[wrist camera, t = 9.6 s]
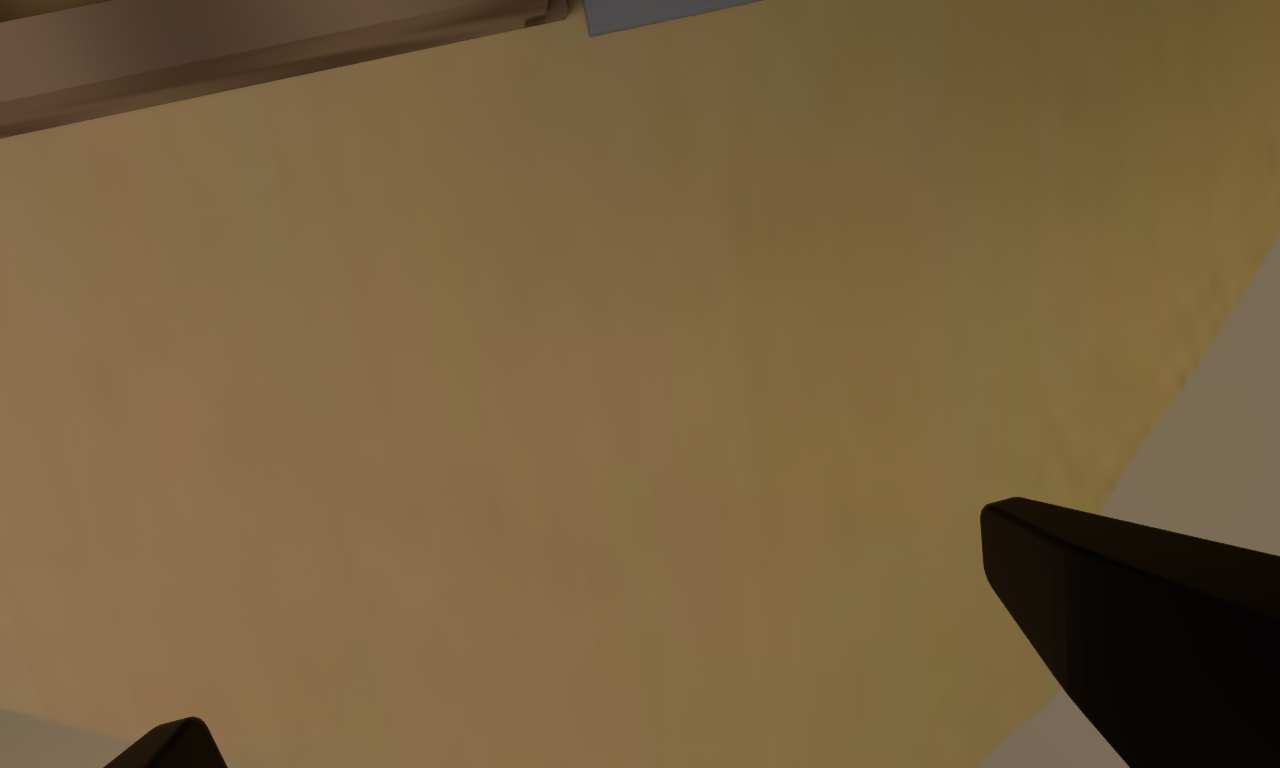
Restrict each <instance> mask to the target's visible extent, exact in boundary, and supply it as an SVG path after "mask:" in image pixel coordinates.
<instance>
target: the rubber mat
mask: <svg viewBox="0 0 1280 768" xmlns="http://www.w3.org/2000/svg"><path fill="white" fill-rule="evenodd" d="M757 1H762V0H582V3H583V7H584V12H585V17H586V22H587V26H588V31H589V36H590V37H593V36H598V35H602V34H607V33H612V32H617V31H621V30H626V29H631V28H635V27H640V26H645V25H649V24H654V23H659V22H663V21H668V20H673V19H678V18H682V17H687V16H692V15H696V14H701V13H706V12H710V11H715V10H720V9H725V8H729V7H734V6H739V5H743V4H748V3H753V2H757Z"/></svg>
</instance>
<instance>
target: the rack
mask: <svg viewBox="0 0 1280 768" xmlns="http://www.w3.org/2000/svg"><path fill="white" fill-rule="evenodd" d="M567 12H568V6H567V1H566V0H111V1H106V2H101V3H96V4H91V5H86V6H81V7H76V8H71V9H66V10H61V11H56V12H51V13H46V14H41V15H36V16H31V17H26V18H21V19H16V20H11V21H6V22H1V23H0V138H5V137H10V136H14V135H19V134H24V133H28V132H33V131H38V130H43V129H47V128H52V127H57V126H62V125H66V124H71V123H76V122H81V121H85V120H90V119H95V118H100V117H104V116H109V115H114V114H119V113H123V112H128V111H133V110H138V109H142V108H147V107H152V106H157V105H161V104H166V103H171V102H176V101H180V100H185V99H190V98H194V97H199V96H204V95H209V94H213V93H218V92H223V91H228V90H232V89H237V88H242V87H247V86H251V85H256V84H261V83H266V82H270V81H275V80H280V79H285V78H289V77H294V76H299V75H304V74H308V73H313V72H318V71H323V70H327V69H332V68H337V67H342V66H346V65H351V64H356V63H360V62H365V61H370V60H375V59H379V58H384V57H389V56H394V55H398V54H403V53H408V52H413V51H417V50H422V49H427V48H432V47H436V46H441V45H446V44H451V43H455V42H460V41H465V40H470V39H474V38H479V37H484V36H489V35H493V34H498V33H503V32H508V31H512V30H517V29H522V28H527V27H531V26H536V25H541V24H545V23H550V22H555V21H560V20H564V19H565V18H566V15H567Z"/></svg>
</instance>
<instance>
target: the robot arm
mask: <svg viewBox="0 0 1280 768" xmlns="http://www.w3.org/2000/svg"><path fill="white" fill-rule="evenodd" d="M980 523H981V538H982V552H983V565H984V570H985V574H986V577H987V579H988V581H989V583H990V585H991V587H992V589H993V590H994V591H995V593H996V594H997V596H998V597H999V599H1000V600H1001V601H1002V603H1003V604H1004V606H1005V607H1006V609H1007V610H1008V611H1009V613H1010V614H1011V616H1012V617H1013V619H1014V620H1015V621H1016V623H1017V624H1018V626H1019V627H1020V629H1021V630H1022V631H1023V633H1024V634H1025V636H1026V637H1027V639H1028V640H1029V641H1030V643H1031V644H1032V646H1033V647H1034V649H1035V650H1036V651H1037V653H1038V654H1039V656H1040V657H1041V658H1042V660H1043V661H1044V663H1045V664H1046V666H1047V667H1048V668H1049V670H1050V671H1051V673H1052V674H1053V676H1054V677H1055V678H1056V680H1057V681H1058V682H1059V684H1060V685H1061V686H1062V688H1063V689H1064V690H1065V692H1066V693H1067V694H1068V696H1069V697H1070V698H1071V699H1072V701H1073V702H1074V703H1075V704H1076V705H1077V707H1078V708H1079V709H1080V710H1081V711H1082V713H1083V714H1084V715H1085V716H1086V717H1087V718H1088V720H1089V721H1090V722H1091V723H1092V724H1093V725H1094V727H1095V728H1096V729H1097V730H1098V731H1099V732H1100V733H1101V735H1102V736H1103V737H1104V738H1105V739H1106V740H1107V741H1108V743H1109V744H1110V745H1111V746H1112V747H1113V749H1114V750H1115V751H1116V752H1117V753H1118V754H1119V755H1120V757H1121V758H1122V759H1123V760H1124V761H1125V762H1126V763H1127V765H1128V766H1129V767H1130V768H1280V556H1276V555H1272V554H1268V553H1263V552H1259V551H1254V550H1250V549H1246V548H1241V547H1237V546H1232V545H1228V544H1224V543H1219V542H1215V541H1210V540H1206V539H1202V538H1197V537H1193V536H1188V535H1184V534H1180V533H1175V532H1171V531H1166V530H1162V529H1158V528H1153V527H1149V526H1144V525H1140V524H1135V523H1131V522H1127V521H1123V520H1118V519H1113V518H1109V517H1105V516H1101V515H1096V514H1092V513H1088V512H1083V511H1079V510H1074V509H1070V508H1066V507H1061V506H1057V505H1052V504H1048V503H1044V502H1039V501H1035V500H1030V499H1026V498H1022V497H1012V498H1008V499H1004V500H1001V501H997V502H993V503H990V504H987V505H985V507H984V508H983V509H982V511H981V515H980ZM103 768H228V767H227V765H226V763H225V761H224V759H223V757H222V755H221V753H220V751H219V749H218V747H217V745H216V743H215V741H214V739H213V737H212V735H211V733H210V731H209V729H208V727H207V725H206V724H205V722H204V721H202V720H201V719H200V718H197V717H188V718H184V719H180V720H176V721H173V722H169V723H165V724H161V725H159V726H157V727H155V728H153V729H152V730H150V731H149V732H148V733H147V734H145V735H144V736H143V737H141V738H140V739H139V740H138V741H136V742H135V743H134V744H133V745H131V746H130V747H129V748H127V750H125V751H124V752H122V753H121V754H120V755H119V756H117V757H116V758H115V759H114V760H112V761H111V762H110V763H108V764H107V765H106V766H105V767H103Z"/></svg>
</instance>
